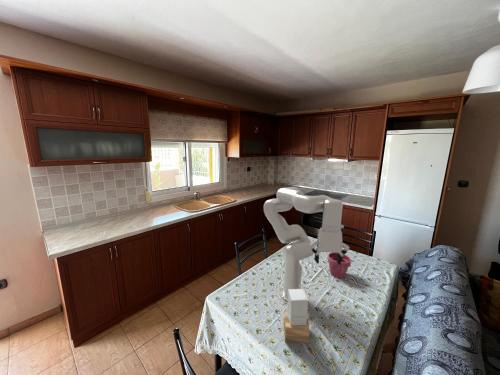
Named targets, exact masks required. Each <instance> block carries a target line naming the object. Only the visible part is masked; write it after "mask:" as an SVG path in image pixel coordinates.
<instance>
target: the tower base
mask: <svg viewBox="0 0 500 375" xmlns="http://www.w3.org/2000/svg"><path fill="white" fill-rule="evenodd" d="M283 332H284V333H283V334H284V335H283V336H284V342H285V343H289V344H296V345H297V344H298V345H307V346H308V345H309V343H310V338H309V339H308V338H302V337H295V336H289V335H285V316H284V317H283Z"/></svg>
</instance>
